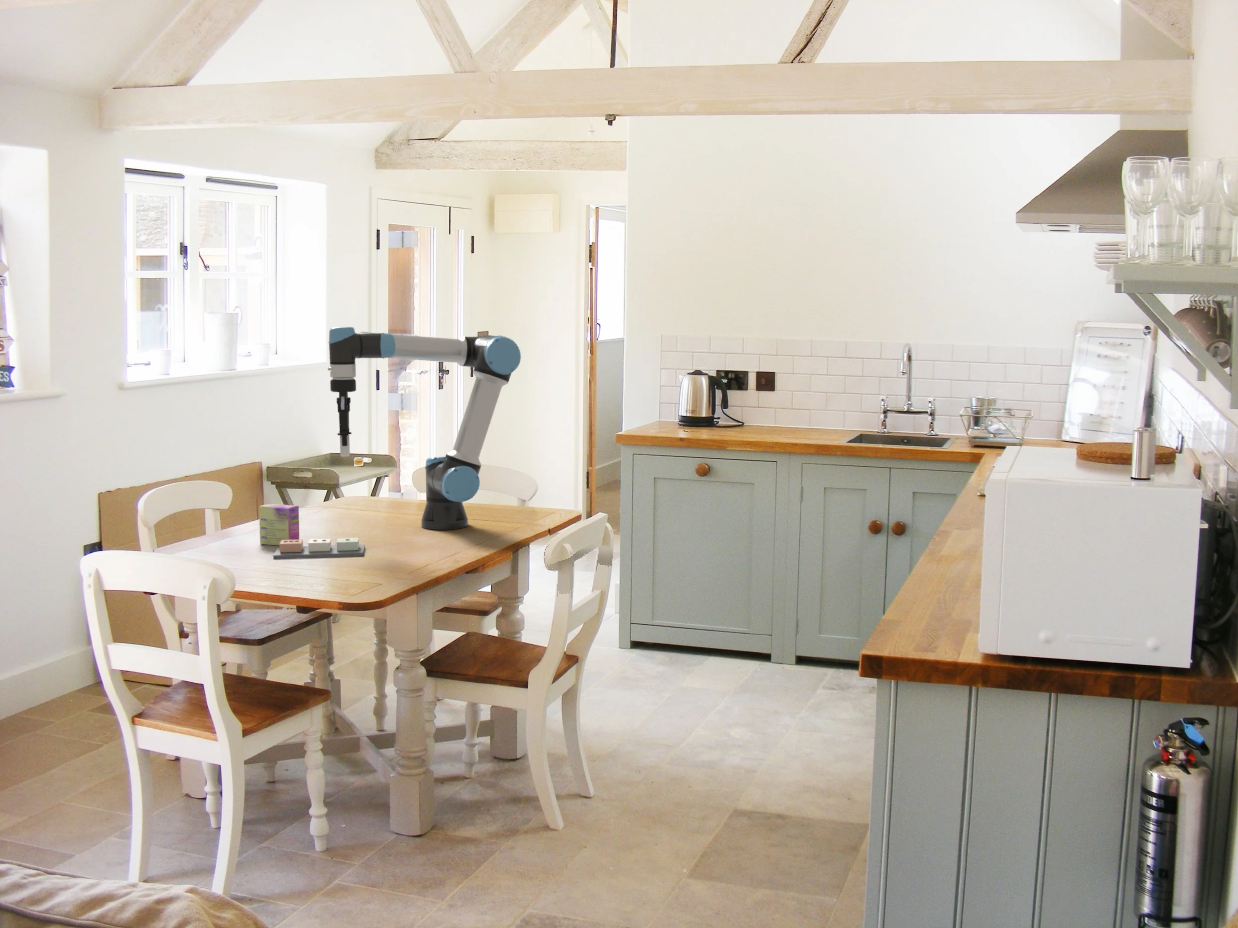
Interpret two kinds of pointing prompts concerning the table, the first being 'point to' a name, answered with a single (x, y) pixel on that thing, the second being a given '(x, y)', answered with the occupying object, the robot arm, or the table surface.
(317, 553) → the keypad board
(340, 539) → the tile one
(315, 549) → the tile two
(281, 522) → the box
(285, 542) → the tile three
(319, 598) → the table surface
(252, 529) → the table surface
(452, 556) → the table surface
